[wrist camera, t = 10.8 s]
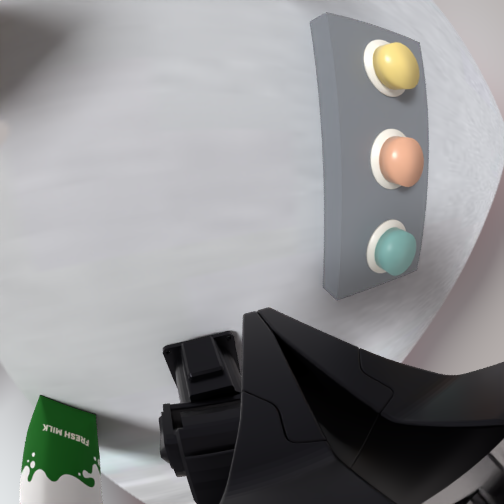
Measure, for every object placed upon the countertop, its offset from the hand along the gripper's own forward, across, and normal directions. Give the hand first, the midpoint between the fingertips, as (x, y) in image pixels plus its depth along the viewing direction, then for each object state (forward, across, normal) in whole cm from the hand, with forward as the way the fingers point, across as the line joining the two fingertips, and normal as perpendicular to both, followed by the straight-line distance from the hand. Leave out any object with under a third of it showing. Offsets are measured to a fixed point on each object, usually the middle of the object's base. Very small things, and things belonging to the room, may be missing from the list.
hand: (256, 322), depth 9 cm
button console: (+13, -16, -3) cm, 21 cm away
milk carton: (+13, +21, +20) cm, 32 cm away
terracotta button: (+10, -16, -3) cm, 19 cm away
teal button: (+10, -16, +5) cm, 20 cm away
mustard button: (+10, -16, -11) cm, 22 cm away
